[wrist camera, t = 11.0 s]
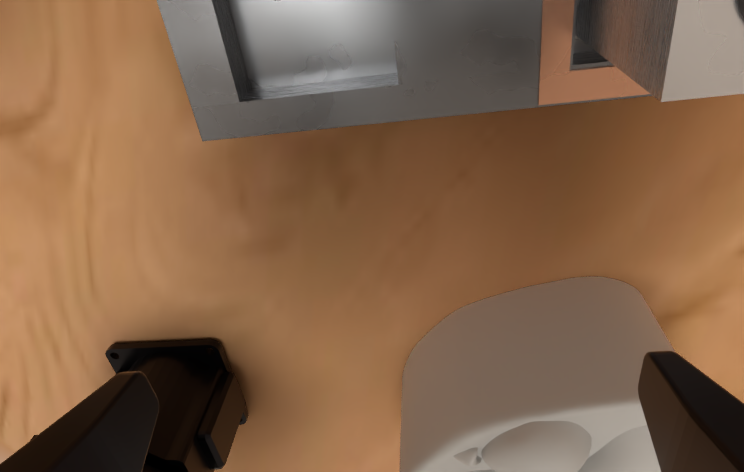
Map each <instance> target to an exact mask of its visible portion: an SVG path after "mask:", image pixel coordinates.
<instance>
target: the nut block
mask: <svg viewBox="0 0 744 472" xmlns="http://www.w3.org/2000/svg"><path fill="white" fill-rule="evenodd" d="M576 36H577V37H578V38H580V39H581V40H582V41H584V42H585V43H586V44H587V45H589V46H590V47H591V48H593V49H594V50H595V51H596V52H598V53H599V54H600V55H601V56H603V57H604V58H605V59H607V60H608V61H609V62H610V63H612V64H613V65H614V66H616V67H617V68H618V69H619V70H621V71H622V72H623V73H624V74H626V75H627V76H628V77H630V78H631V79H632V80H633V81H635V82H636V83H637V84H639V85H640V86H641V87H642V88H644V89H645V90H646V91H647V92H649V93H650V94H651V95H653V96H654V97H655V98H656V99H658V100H659V101H660V102H667V101H676V100H686V99H696V98H706V97H716V96H726V95H736V94H744V0H579V5H578V18H577V32H576Z"/></svg>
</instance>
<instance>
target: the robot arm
mask: <svg viewBox="0 0 744 472" xmlns="http://www.w3.org/2000/svg"><path fill="white" fill-rule="evenodd" d="M210 348H211V349H210ZM212 349H213V350H212ZM106 357H107V358H108V360H109V362H110V364H111V365H112V367H113V369H114V371H115V372H116V375H115V376H114V377H113V378H112V379H110V380H109V381H108V382H106V383H105V384H104V385H103V386H101V387H100V388H99V389H97V390H96V391H95V392H93V393H92V394H91V395H90V396H88V397H87V398H86V399H84V400H83V401H82V402H80V403H79V404H78V405H77V406H75V407H74V408H73V409H71V410H70V411H69V412H67V413H66V414H65V415H64V416H62V417H61V418H60V419H58V420H57V421H56V422H54V423H53V424H52V425H51V426H49V427H48V428H47V429H45V430H44V431H43V432H41V433H40V434H39V435H34V436H33V438H32V439H31V440H30V442H28V443H27V444H26V445H25V446H23V447H22V448H21V449H19V450H18V451H17V452H15V453H14V454H13V455H11V456H10V457H9V458H8V459H6V460H5V461H4V462H2V463H1V464H0V472H214V470H215V469H222V467H223V466H224V465H225V463H226V460H227V458H228V455H229V452H230V449H231V446H232V443H233V440H234V437H235V434H236V432H237V429H238V426H239V425H241V424H244V423H246V421H247V418H248V412H247V409H246V407H245V406H246V402H245V400H244V397H243V395H242V392H241V390H240V387H239V385H238V382H237V379H236V377H235V375H234V374H233V373H232V371H231V369H230V366H229V363H228V361H227V358H226V356H225V353H224V351H223V348H222V346H221V344H220V343H219V342H217V341H215V340H189V341H167V342H145V343H124V344H112V345H111V346H110V347H109V348H108V350H107V351H106ZM638 395H639V400H640V403H641V406H642V410H643V413H644V416H645V420H646V423H647V426H648V430H649V433H650V436H651V440H652V443H653V446H654V450H655V453H656V456H657V460H658V463H659V466H660V469H661V472H744V403H742V402H741V401H740V400H738V399H737V398H736V397H734V396H733V395H732V394H730V393H729V392H728V391H726V390H725V389H724V388H722V387H721V386H720V385H718V384H717V383H716V382H714V381H713V380H712V379H710V378H709V377H708V376H707V375H705V374H704V373H703V372H701V371H700V370H699V369H697V368H696V367H695V366H693V365H692V364H691V363H689V362H688V361H687V360H685V359H684V358H683V357H681V356H680V355H679V354H677V353H675V352H673V351H650V352H647V353H646V354H645V356H644V359H643V363H642V368H641V373H640V378H639V382H638Z"/></svg>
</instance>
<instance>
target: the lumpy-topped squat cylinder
mask: <svg viewBox="0 0 744 472" xmlns="http://www.w3.org/2000/svg"><path fill="white" fill-rule="evenodd" d="M650 351H673V352H675V351H674V349H673V347H672V346H671V344H670V342H669V340H668V339H667V337H666V335H665V334H664V332H663V330H662V329H661V327H660V325H659V323H658V322H657V320H656V318H655V317H654V315H653V313H652V311H651V310H650V308H649V306H648V305H647V303H646V301H645V299H644V298H643V296H642V295H641V293H640V292H639V291H638V290H637V289H636V288H634V287H633V286H631V285H629V284H627V283H625V282H622V281H619V280H616V279H612V278H607V277H595V276H589V277H576V278H569V279H564V280H559V281H554V282H548V283H543V284H538V285H533V286H528V287H524V288H520V289H516V290H512V291H509V292H505V293H502V294H498V295H495V296H492V297H488V298H485V299H482V300H479V301H476V302H474V303H471V304H468V305H466V306H464V307H461V308H459V309H457V310H456V311H454V312H452V313H451V314H450V315H448V316H447V317H446V318H444V319H443V320H442V321H441V322H439V323H438V324H437V325H436V326H435V327H434V328H432V329H431V330H430V331H429V332H428V333H427V334H426V335H425V336H424V337H423V338H422V339H421V340H420V341H419V342H418V343H417V344H416V346H415V347H414V348H413V350H412V351H411V353H410V355H409V357H408V359H407V362H406V364H405V367H404V370H403V376H402V404H401V437H400V472H661V469H660V466H659V463H658V460H657V456H656V453H655V450H654V446H653V443H652V440H651V436H650V433H649V430H648V426H647V423H646V420H645V416H644V413H643V410H642V406H641V403H640V400H639V395H638V382H639V378H640V373H641V368H642V363H643V359H644V356H645V354H646V353H647V352H650ZM675 353H676V352H675Z"/></svg>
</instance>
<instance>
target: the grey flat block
mask: <svg viewBox="0 0 744 472" xmlns="http://www.w3.org/2000/svg"><path fill="white" fill-rule="evenodd" d="M157 3H158V6H159V9H160V12H161V15H162V18H163V21H164V24H165V27H166V30H167V33H168V37H169V40H170V43H171V46H172V49H173V52H174V55H175V58H176V61H177V64H178V67H179V70H180V73H181V76H182V79H183V83H184V86H185V89H186V92H187V95H188V98H189V101H190V104H191V107H192V110H193V113H194V116H195V119H196V122H197V126H198V129H199V132H200V135H201V138H202V141H209V140H219V139H229V138H239V137H249V136H259V135H269V134H279V133H288V132H298V131H308V130H318V129H328V128H338V127H348V126H358V125H368V124H378V123H387V122H397V121H407V120H417V119H427V118H437V117H447V116H457V115H467V114H477V113H486V112H496V111H506V110H516V109H526V108H536V107H546V106H556V105H566V104H576V103H585V102H595V101H605V100H615V99H625V98H635V97H645V96H653V95H651V94H650V93H649V92H647V91H646V90H645V89H644V88H642V87H641V86H640V85H639V84H637V83H636V82H635V81H633V80H632V79H631V78H630V77H628V76H627V75H626V74H624V73H623V72H622V71H621V70H619V69H618V68H617V67H616V66H614V65H613V64H612V63H610V62H609V61H608V60H607V59H605V58H604V57H603V56H601V55H600V54H599V53H598V52H596V51H595V50H594V49H593V48H591V47H590V46H589V45H587V44H586V43H585V42H584V41H582V40H581V39H580V38H578V37H577V36H576V32H577V18H578V5H579V0H157Z"/></svg>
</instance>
